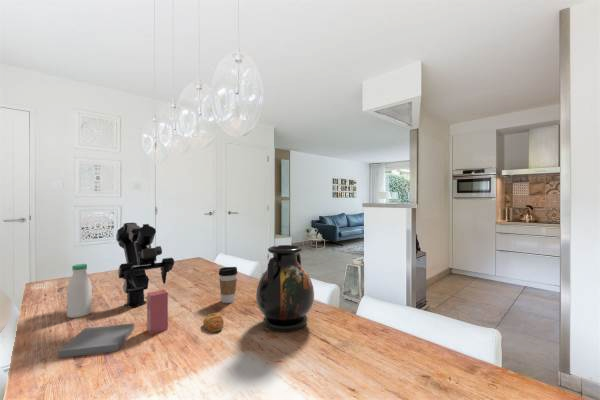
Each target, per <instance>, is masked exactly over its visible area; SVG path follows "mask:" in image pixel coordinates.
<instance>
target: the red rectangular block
mask: <svg viewBox="0 0 600 400" xmlns="http://www.w3.org/2000/svg"><path fill="white" fill-rule="evenodd" d="M168 300H169V291H166V290H165V289H160V290H155V291H152V292H151V291H150V292H147V295H146V301H147V303H146V309H147V311H146V330H147V332H148V334H149V335H150V336H151V335H154V334H158V333H160V332H161V333H162V332H164V331H167V330H168V329H169V328H168V327H169V325H168V322H169V321H168V320H169V317H168V315H169V313H168V312H169V308H168V307H169V304H168V302H169V301H168Z"/></svg>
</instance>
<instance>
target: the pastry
mask: <svg viewBox="0 0 600 400" xmlns="http://www.w3.org/2000/svg"><path fill="white" fill-rule="evenodd" d="M202 326H203V327H204V328H205V330H207V331H208V332H211V333H216V332H219V331H222V329H223V328H224V318H223V317H222V316H221V314H217V313H210V314H208V315H206V316H205V318H204V319H203V322H202Z"/></svg>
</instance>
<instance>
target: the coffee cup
mask: <svg viewBox="0 0 600 400" xmlns="http://www.w3.org/2000/svg"><path fill="white" fill-rule="evenodd" d="M237 275H238V267H237V266H227V267H226V266H224V267H220V268H219V270H218V276H219V289H220V300H221V303H222V304H230V303H234V302H235V301H236V291H237V277H238V276H237Z"/></svg>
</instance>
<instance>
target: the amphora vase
mask: <svg viewBox="0 0 600 400" xmlns="http://www.w3.org/2000/svg"><path fill="white" fill-rule="evenodd" d="M267 251H268V253H270V254H272V256H273V257H270V259H269V260H268V262H267V268H266V270H264V272H263V274H262V275H261V277H260V278H259V281H258V284H257V287H256V292H255V293H256V295H255V298H256V300H255V302H256V305H257V307H258V309H259V311H260V312H261V314H262V315H263V316H264V317H263V318H262V319H263V320H262V321H263V322H262V323H263V325H264V326H265V327H267V328H268V329H269V330H272V331H277V332H293V331H296V330H298V329H299V330H300V329H301V328H303V327H304V326H305V325H307V323H308V316H307V314H308V313H309V312H310V310H311V309H312V308H313V305H314V303H315V302H314V301H315V290H314V285H313V282H312V280H311V277H310V275H309V274H308V272H307V271H306V270H305V269H304V268H303V267H302V265H301V264H302V262H301V261H302V260H301V255H300V253H301V252H302V251H303V247H301V246H299V245H293V244H290V245H289V244H280V245H279V244H278V245H273V246H270V247H268V248H267Z"/></svg>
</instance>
